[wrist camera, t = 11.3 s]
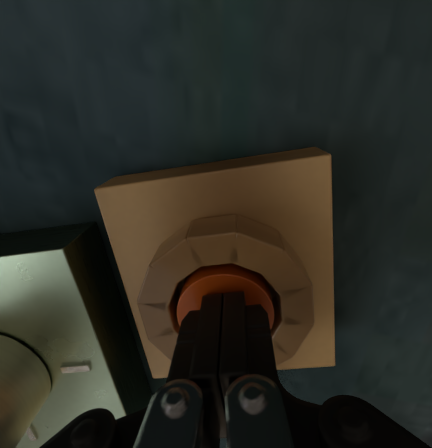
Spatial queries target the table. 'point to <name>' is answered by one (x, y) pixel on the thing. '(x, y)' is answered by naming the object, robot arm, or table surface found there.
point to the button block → (229, 245)
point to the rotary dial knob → (20, 390)
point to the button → (224, 287)
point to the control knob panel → (70, 325)
